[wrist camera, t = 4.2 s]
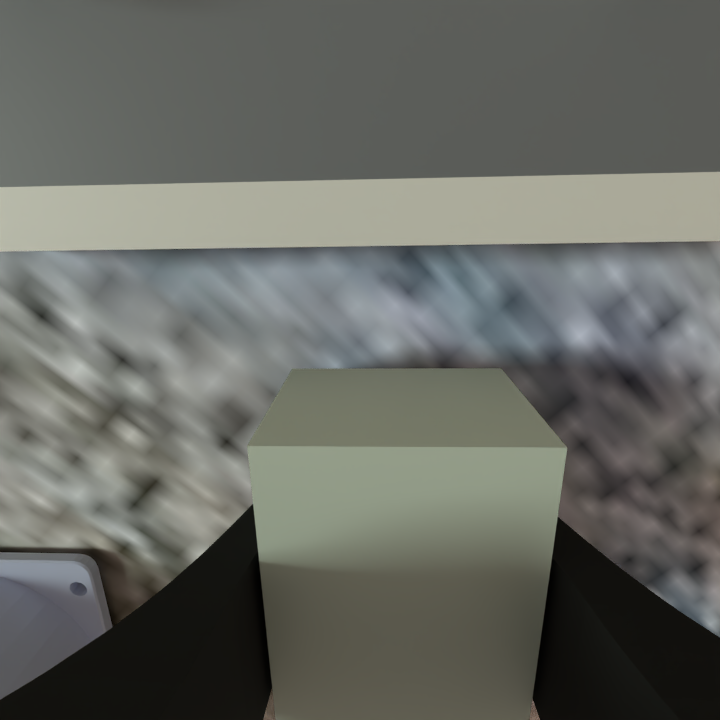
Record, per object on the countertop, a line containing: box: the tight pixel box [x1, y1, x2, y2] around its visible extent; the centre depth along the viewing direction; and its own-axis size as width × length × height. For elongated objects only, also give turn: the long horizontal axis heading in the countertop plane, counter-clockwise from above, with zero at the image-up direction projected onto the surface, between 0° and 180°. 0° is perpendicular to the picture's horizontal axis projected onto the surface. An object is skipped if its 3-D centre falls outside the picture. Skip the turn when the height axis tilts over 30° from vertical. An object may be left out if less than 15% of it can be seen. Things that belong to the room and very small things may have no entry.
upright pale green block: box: [247, 368, 567, 720], centre depth 9 cm, size 7×4×5 cm, turn 1°
